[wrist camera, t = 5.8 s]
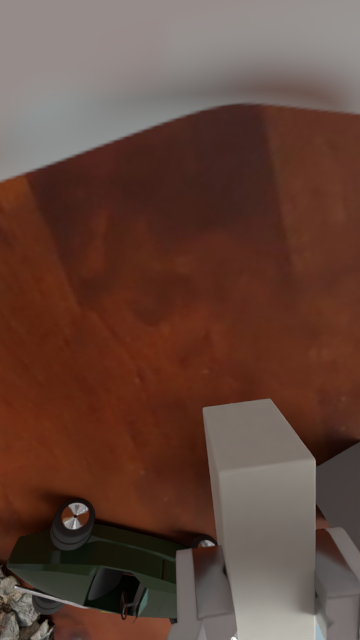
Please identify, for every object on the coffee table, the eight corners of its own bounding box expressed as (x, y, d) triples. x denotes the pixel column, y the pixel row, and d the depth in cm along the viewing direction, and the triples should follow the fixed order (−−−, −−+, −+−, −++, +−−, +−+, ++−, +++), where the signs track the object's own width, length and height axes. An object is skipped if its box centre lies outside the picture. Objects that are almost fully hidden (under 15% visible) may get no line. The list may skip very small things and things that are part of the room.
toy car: (201, 598, 27) (207, 669, 23) (16, 560, 25) (-20, 629, 20) (232, 533, 26) (246, 595, 21) (35, 486, 24) (1, 543, 19)
